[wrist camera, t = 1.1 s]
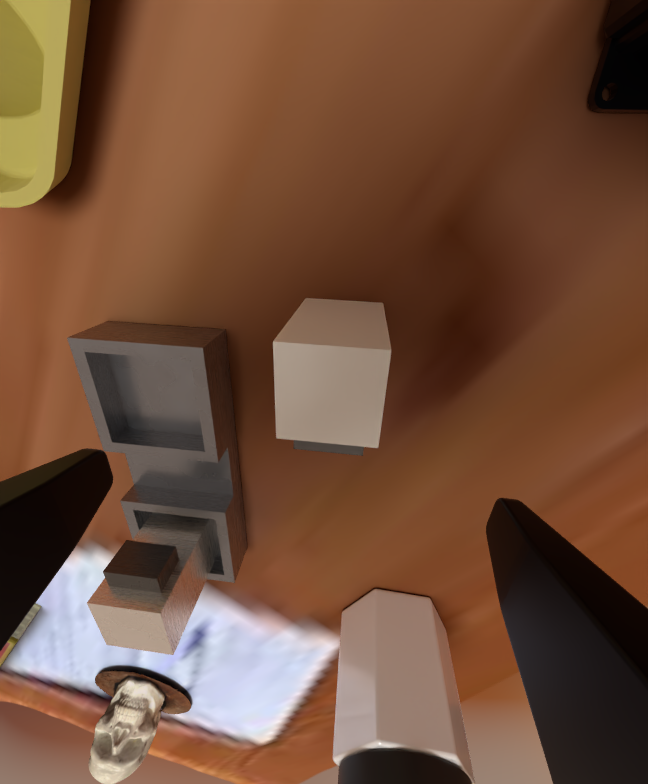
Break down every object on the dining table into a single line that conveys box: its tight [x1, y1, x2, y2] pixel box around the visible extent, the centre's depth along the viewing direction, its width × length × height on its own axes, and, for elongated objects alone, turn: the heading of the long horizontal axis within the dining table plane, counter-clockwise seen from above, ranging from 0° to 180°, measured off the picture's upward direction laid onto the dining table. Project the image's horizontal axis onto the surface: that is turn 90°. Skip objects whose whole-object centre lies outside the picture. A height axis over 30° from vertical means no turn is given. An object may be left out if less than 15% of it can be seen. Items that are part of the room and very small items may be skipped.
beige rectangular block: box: [273, 298, 391, 456], centre depth 16 cm, size 4×5×7 cm
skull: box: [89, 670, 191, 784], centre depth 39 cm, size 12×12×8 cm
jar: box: [333, 589, 475, 784], centre depth 24 cm, size 9×8×12 cm
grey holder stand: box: [67, 321, 247, 655], centre depth 20 cm, size 7×18×8 cm, turn 178°
